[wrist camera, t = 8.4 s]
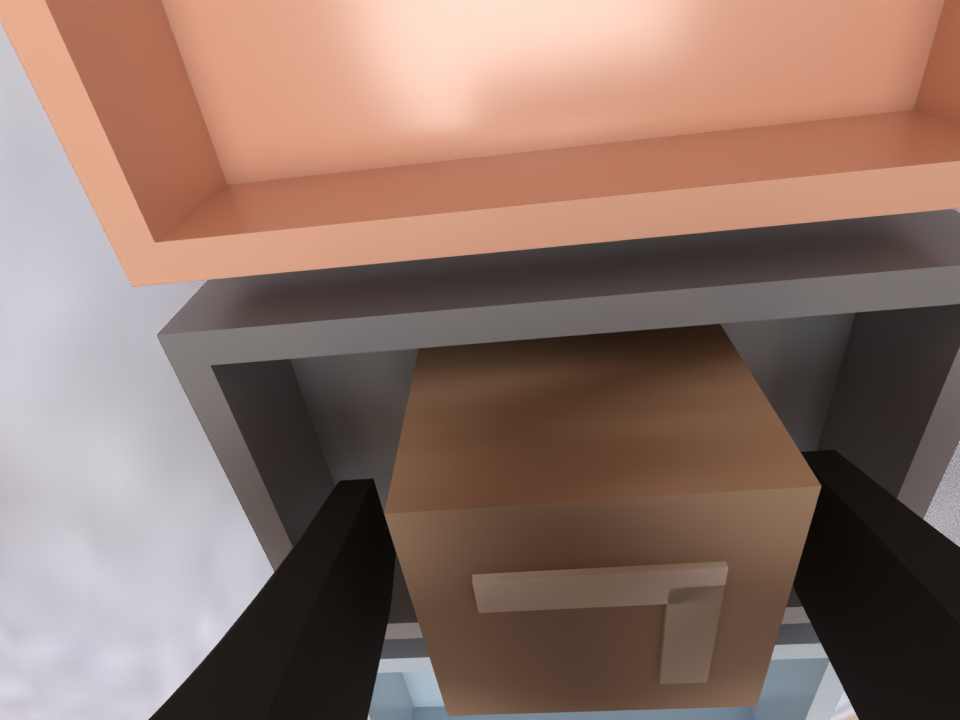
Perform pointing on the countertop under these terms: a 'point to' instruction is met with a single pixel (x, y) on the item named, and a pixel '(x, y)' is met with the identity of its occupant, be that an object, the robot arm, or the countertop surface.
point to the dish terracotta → (484, 122)
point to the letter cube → (597, 522)
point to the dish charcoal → (580, 311)
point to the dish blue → (778, 716)
